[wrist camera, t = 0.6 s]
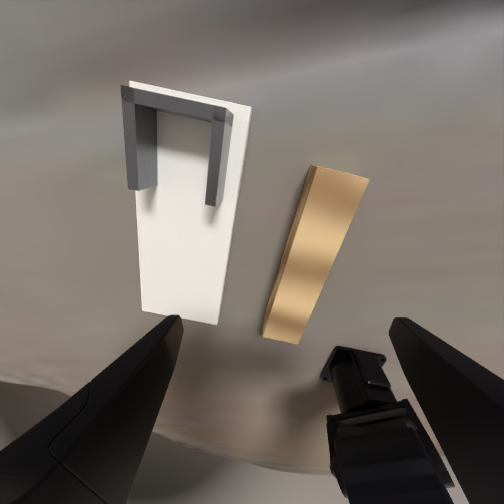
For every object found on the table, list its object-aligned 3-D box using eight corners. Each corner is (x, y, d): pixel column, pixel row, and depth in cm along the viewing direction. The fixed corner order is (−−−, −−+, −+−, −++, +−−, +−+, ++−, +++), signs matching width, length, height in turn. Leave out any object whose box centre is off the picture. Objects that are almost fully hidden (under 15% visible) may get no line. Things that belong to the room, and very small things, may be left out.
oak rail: (294, 324, 26) (297, 344, 24) (263, 317, 26) (262, 337, 24) (355, 174, 19) (369, 179, 16) (310, 164, 18) (317, 167, 16)
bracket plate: (219, 318, 26) (210, 346, 23) (147, 303, 26) (126, 329, 22) (252, 109, 17) (247, 98, 13) (138, 85, 16) (99, 66, 13)
